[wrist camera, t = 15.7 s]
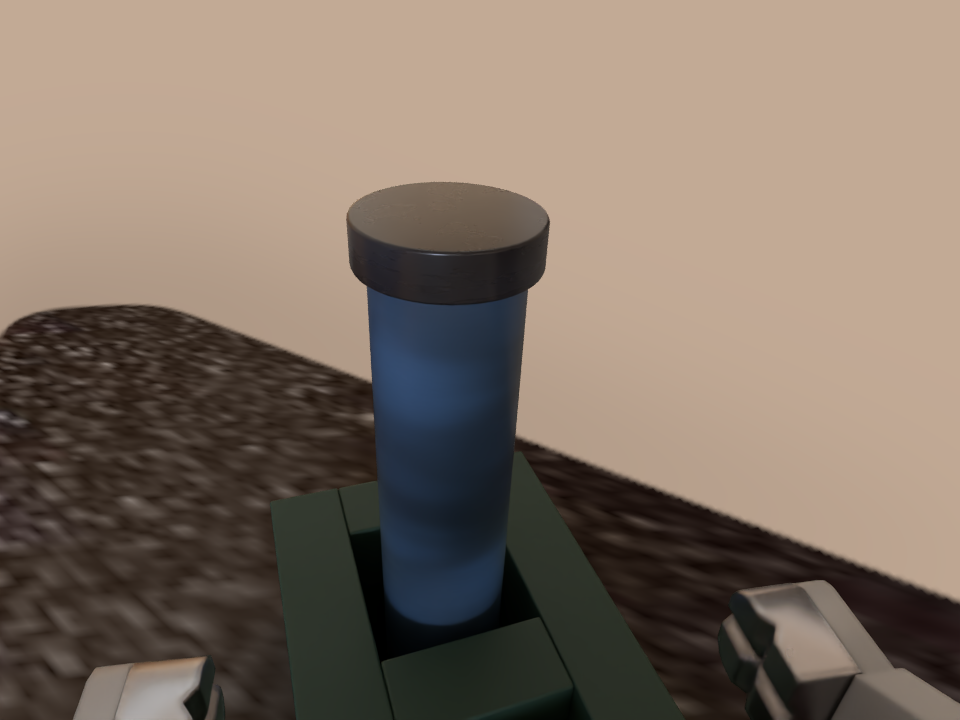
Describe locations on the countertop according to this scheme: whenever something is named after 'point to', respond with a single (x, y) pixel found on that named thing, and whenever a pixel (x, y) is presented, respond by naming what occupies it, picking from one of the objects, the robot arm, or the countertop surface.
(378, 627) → the holder
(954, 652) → the countertop surface
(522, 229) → the handle
